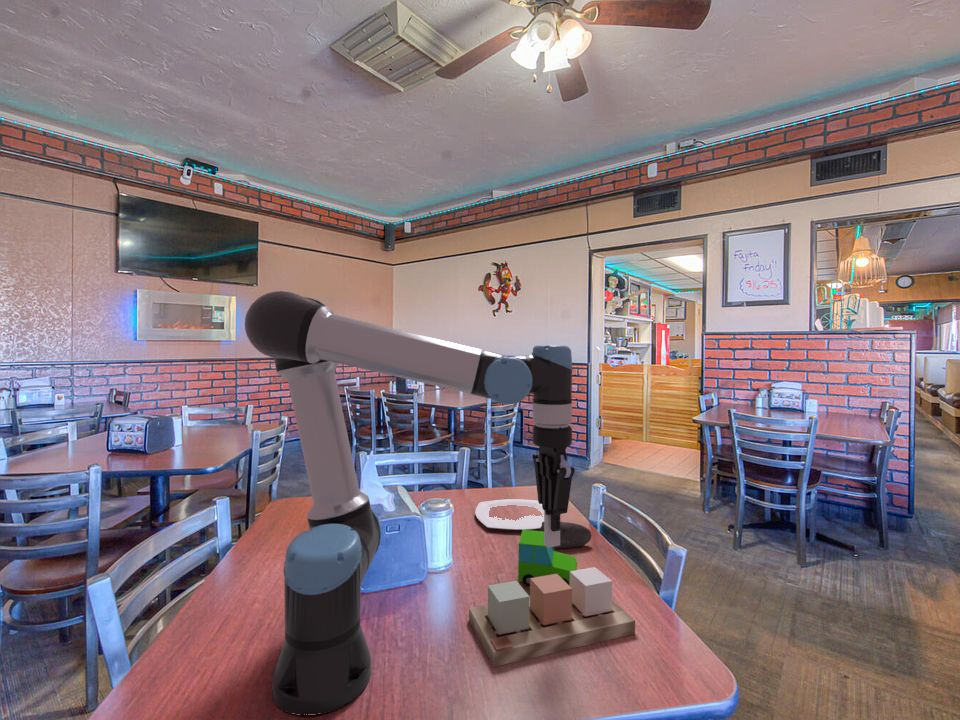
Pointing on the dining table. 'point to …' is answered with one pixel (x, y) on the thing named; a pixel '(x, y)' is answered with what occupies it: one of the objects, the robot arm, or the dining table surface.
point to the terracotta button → (550, 599)
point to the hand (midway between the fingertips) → (552, 544)
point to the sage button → (508, 607)
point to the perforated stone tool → (572, 535)
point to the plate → (507, 524)
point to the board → (548, 634)
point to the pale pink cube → (591, 591)
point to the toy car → (541, 559)
